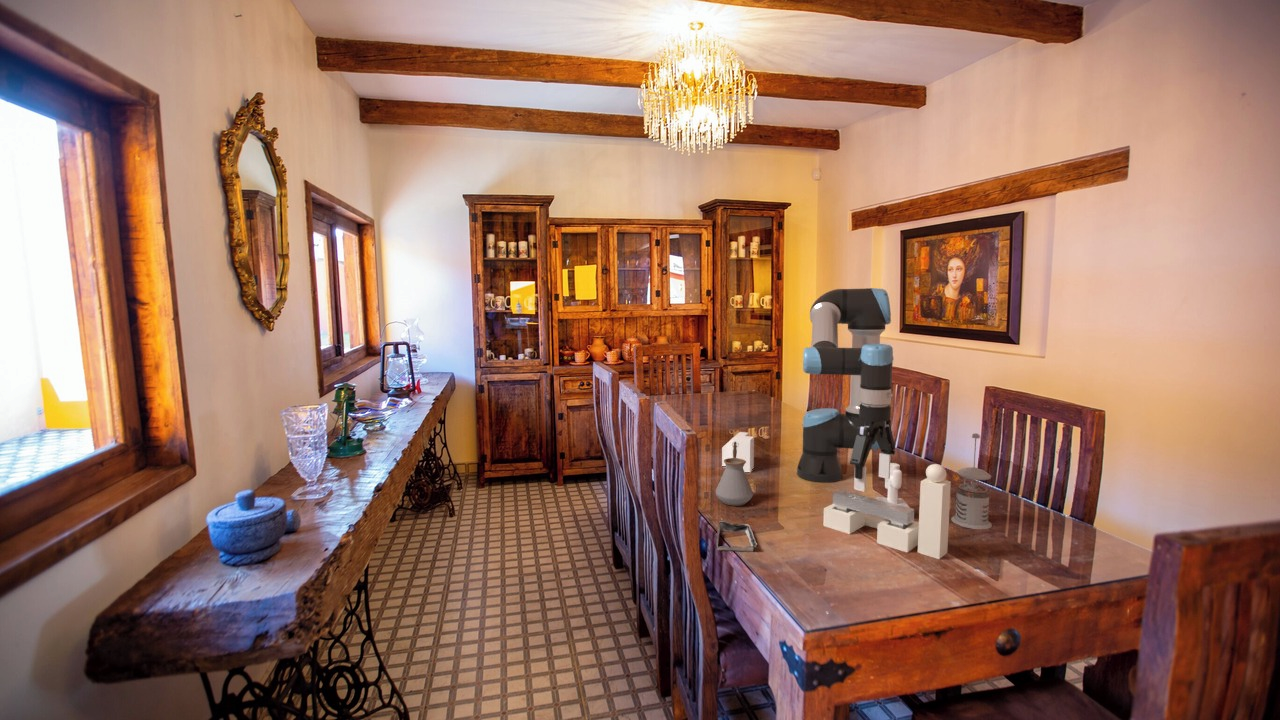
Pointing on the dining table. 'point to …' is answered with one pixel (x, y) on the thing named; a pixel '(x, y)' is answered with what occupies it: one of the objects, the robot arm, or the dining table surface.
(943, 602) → the dining table surface
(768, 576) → the dining table surface
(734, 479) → the grey vase
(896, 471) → the figurine
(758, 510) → the dining table surface
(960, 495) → the french press
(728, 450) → the corner bracket
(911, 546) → the headboard post
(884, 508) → the grey bench
